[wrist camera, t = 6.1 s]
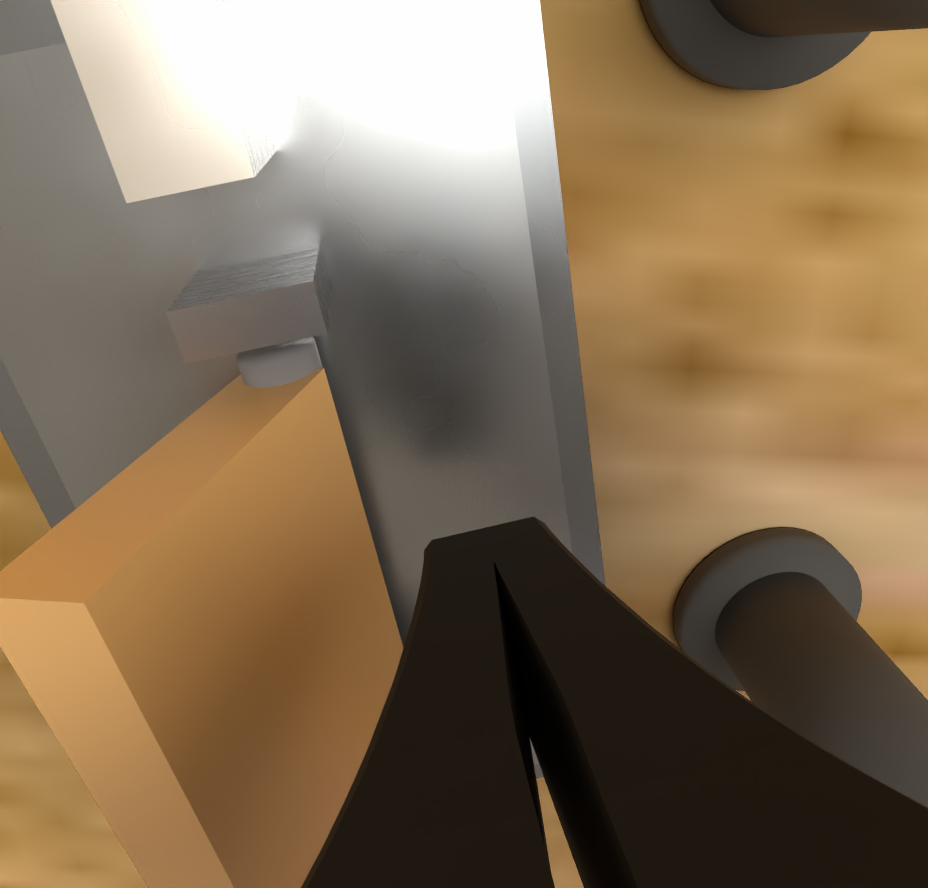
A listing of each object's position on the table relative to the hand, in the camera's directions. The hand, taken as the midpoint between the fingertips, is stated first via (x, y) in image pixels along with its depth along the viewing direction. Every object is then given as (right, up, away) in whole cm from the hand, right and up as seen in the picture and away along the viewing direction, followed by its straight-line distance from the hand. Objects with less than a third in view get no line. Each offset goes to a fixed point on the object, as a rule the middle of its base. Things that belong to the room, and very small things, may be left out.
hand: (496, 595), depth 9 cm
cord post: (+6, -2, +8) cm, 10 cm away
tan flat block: (-2, +1, +2) cm, 3 cm away
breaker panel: (-3, +2, +5) cm, 6 cm away
